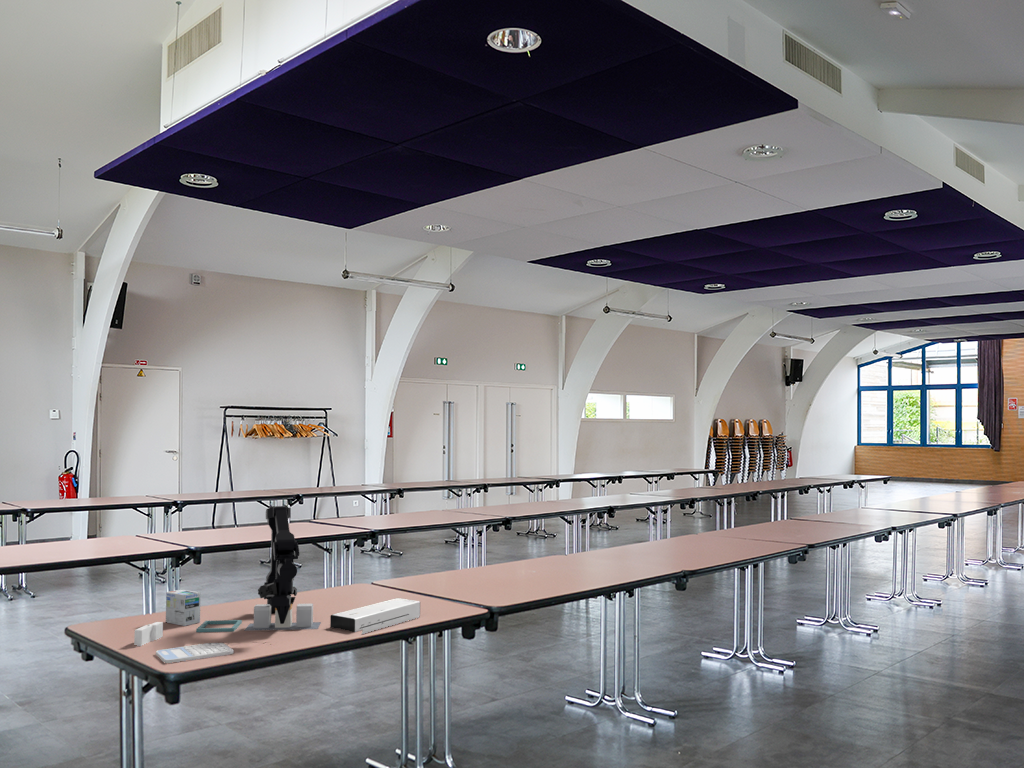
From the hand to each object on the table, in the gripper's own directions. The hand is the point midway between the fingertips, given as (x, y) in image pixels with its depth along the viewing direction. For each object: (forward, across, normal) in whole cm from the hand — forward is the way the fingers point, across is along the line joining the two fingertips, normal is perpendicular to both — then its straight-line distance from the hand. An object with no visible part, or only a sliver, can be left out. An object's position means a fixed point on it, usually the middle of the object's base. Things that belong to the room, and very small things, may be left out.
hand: (283, 621), depth 281 cm
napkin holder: (+4, +10, -40) cm, 41 cm away
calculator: (+4, +27, -22) cm, 35 cm away
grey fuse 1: (+2, 0, -7) cm, 7 cm away
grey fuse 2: (+2, 0, +7) cm, 7 cm away
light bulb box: (+3, -15, -37) cm, 40 cm away
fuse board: (+3, 0, 0) cm, 3 cm away
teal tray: (+3, 0, -21) cm, 21 cm away
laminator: (+4, -7, +31) cm, 32 cm away
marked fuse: (+2, 0, 0) cm, 2 cm away
